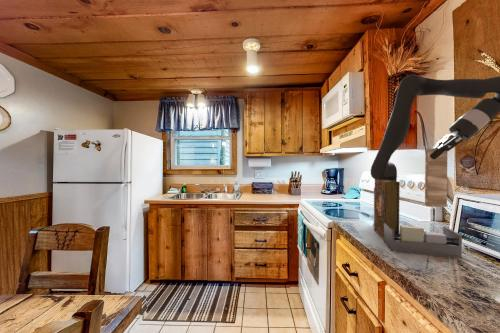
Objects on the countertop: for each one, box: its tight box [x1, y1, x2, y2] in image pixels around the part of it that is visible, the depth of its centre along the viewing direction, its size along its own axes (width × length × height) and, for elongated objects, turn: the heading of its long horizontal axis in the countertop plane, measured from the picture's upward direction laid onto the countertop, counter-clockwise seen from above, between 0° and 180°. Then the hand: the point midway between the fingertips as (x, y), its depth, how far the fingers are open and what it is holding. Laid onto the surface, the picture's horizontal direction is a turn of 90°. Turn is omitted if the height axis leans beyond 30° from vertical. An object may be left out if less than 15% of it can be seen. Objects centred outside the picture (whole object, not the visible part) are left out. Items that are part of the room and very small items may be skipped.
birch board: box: [424, 147, 448, 208], centre depth 93 cm, size 3×6×22 cm, turn 73°
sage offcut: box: [399, 225, 425, 243], centre depth 91 cm, size 2×7×9 cm, turn 73°
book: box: [373, 179, 401, 240], centre depth 111 cm, size 16×6×25 cm, turn 168°
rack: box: [383, 223, 463, 259], centre depth 93 cm, size 12×22×8 cm, turn 73°
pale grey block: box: [424, 232, 446, 244], centre depth 89 cm, size 2×6×7 cm, turn 74°
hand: (429, 157), depth 94 cm, fingers closed on birch board, 3 cm apart
